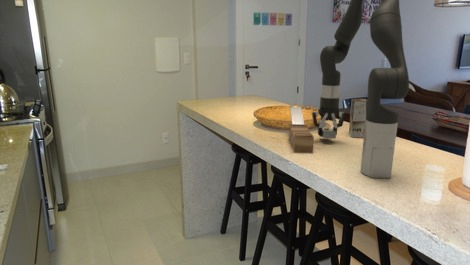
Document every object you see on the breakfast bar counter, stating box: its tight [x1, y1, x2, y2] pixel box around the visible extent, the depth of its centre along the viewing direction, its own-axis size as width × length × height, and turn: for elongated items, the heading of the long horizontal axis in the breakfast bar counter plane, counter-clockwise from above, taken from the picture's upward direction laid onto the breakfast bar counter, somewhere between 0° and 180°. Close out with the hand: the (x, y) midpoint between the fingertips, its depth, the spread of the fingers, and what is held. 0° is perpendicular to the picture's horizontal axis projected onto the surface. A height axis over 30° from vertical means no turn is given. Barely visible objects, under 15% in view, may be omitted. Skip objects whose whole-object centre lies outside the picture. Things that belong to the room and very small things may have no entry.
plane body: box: [288, 124, 315, 154], centre depth 139 cm, size 18×7×7 cm, turn 178°
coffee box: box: [348, 98, 367, 139], centre depth 154 cm, size 9×6×16 cm
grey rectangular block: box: [320, 127, 337, 139], centre depth 145 cm, size 9×5×4 cm, turn 178°
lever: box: [288, 105, 305, 125], centre depth 152 cm, size 1×5×12 cm
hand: (326, 136), depth 146 cm, fingers closed on grey rectangular block, 5 cm apart
